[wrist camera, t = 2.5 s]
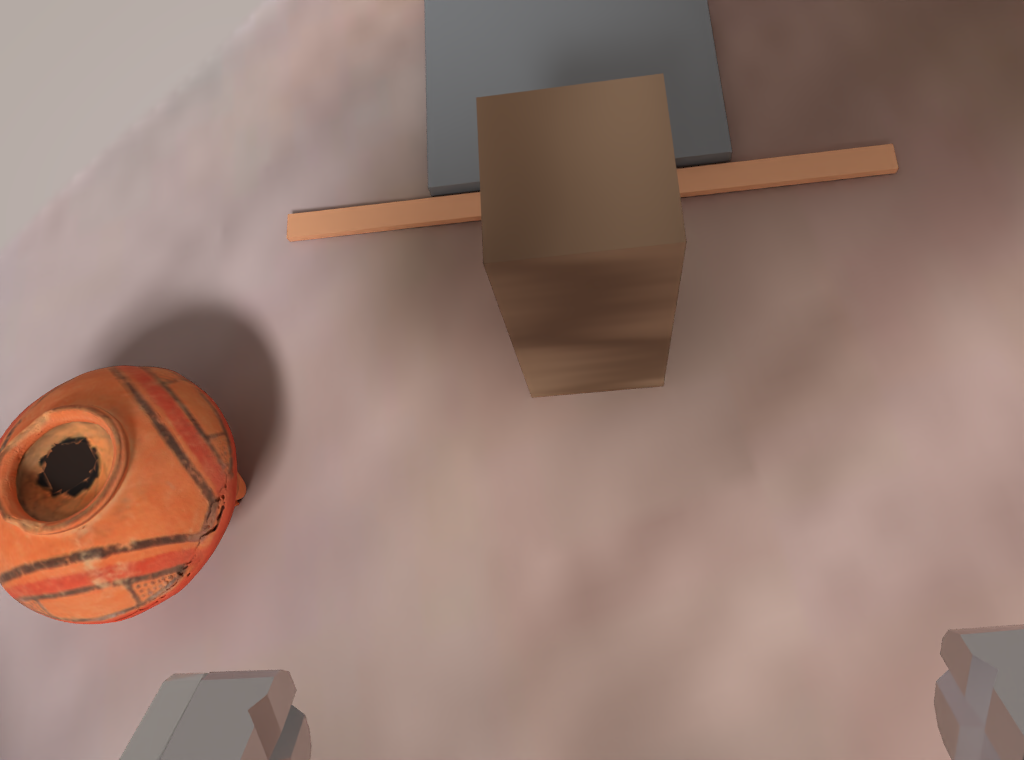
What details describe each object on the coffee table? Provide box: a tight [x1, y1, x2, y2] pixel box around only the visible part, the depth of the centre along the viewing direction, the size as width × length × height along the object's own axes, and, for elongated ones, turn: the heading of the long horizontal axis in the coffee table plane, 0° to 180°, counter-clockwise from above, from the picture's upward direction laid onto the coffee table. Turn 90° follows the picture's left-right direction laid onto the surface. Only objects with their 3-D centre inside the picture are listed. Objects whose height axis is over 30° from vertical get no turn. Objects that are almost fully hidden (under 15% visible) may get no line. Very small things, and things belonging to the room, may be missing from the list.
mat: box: [424, 0, 732, 196], centre depth 31 cm, size 11×12×1 cm
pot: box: [0, 366, 246, 624], centre depth 25 cm, size 8×8×7 cm
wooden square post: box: [476, 73, 686, 398], centre depth 23 cm, size 4×4×10 cm
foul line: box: [287, 144, 899, 242], centre depth 29 cm, size 22×1×1 cm, turn 93°
